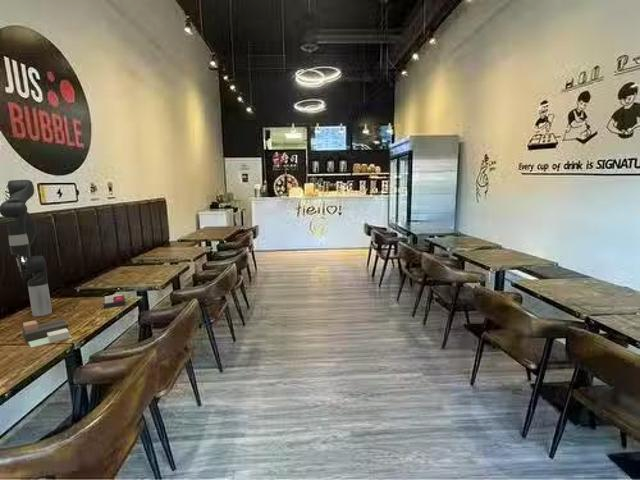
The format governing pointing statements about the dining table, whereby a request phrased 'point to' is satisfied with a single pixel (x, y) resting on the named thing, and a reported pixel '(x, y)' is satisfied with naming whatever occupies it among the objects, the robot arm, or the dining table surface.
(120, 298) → the red and white box
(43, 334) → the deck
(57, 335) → the cream tile
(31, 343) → the mat
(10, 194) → the robot arm
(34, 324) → the salmon pink block
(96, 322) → the dining table surface
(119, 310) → the dining table surface
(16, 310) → the dining table surface
